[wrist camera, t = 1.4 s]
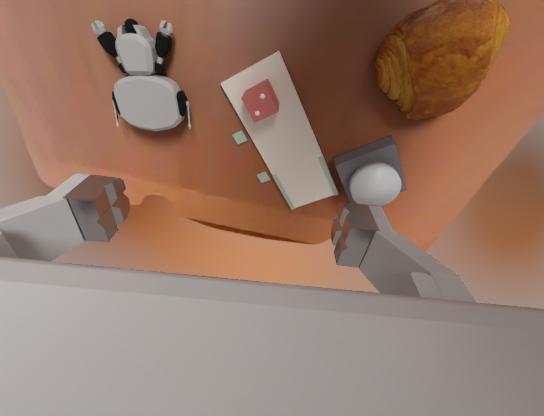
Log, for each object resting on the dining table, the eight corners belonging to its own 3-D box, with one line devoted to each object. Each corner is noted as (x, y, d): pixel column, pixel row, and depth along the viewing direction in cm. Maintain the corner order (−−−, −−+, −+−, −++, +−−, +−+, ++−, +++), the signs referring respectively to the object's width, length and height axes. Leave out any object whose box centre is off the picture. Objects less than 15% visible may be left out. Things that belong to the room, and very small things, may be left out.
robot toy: (98, 19, 38) (130, 123, 47) (77, 18, 35) (115, 132, 43) (182, 18, 38) (198, 125, 46) (169, 18, 34) (190, 134, 42)
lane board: (279, 50, 38) (278, 51, 37) (337, 191, 53) (338, 194, 52) (205, 91, 43) (203, 93, 42) (278, 211, 57) (278, 214, 56)
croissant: (371, 14, 37) (376, 19, 31) (510, -22, 32) (548, -25, 26) (373, 117, 45) (377, 136, 39) (483, 100, 40) (507, 119, 34)
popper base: (390, 135, 45) (395, 143, 43) (401, 181, 50) (406, 190, 48) (333, 157, 48) (334, 165, 46) (349, 198, 54) (351, 207, 51)
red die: (268, 78, 40) (265, 85, 37) (279, 103, 42) (278, 112, 39) (245, 90, 41) (240, 98, 38) (257, 113, 43) (254, 123, 40)
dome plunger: (389, 148, 44) (396, 160, 41) (398, 185, 48) (405, 198, 45) (341, 166, 47) (345, 178, 44) (354, 199, 51) (358, 213, 48)
